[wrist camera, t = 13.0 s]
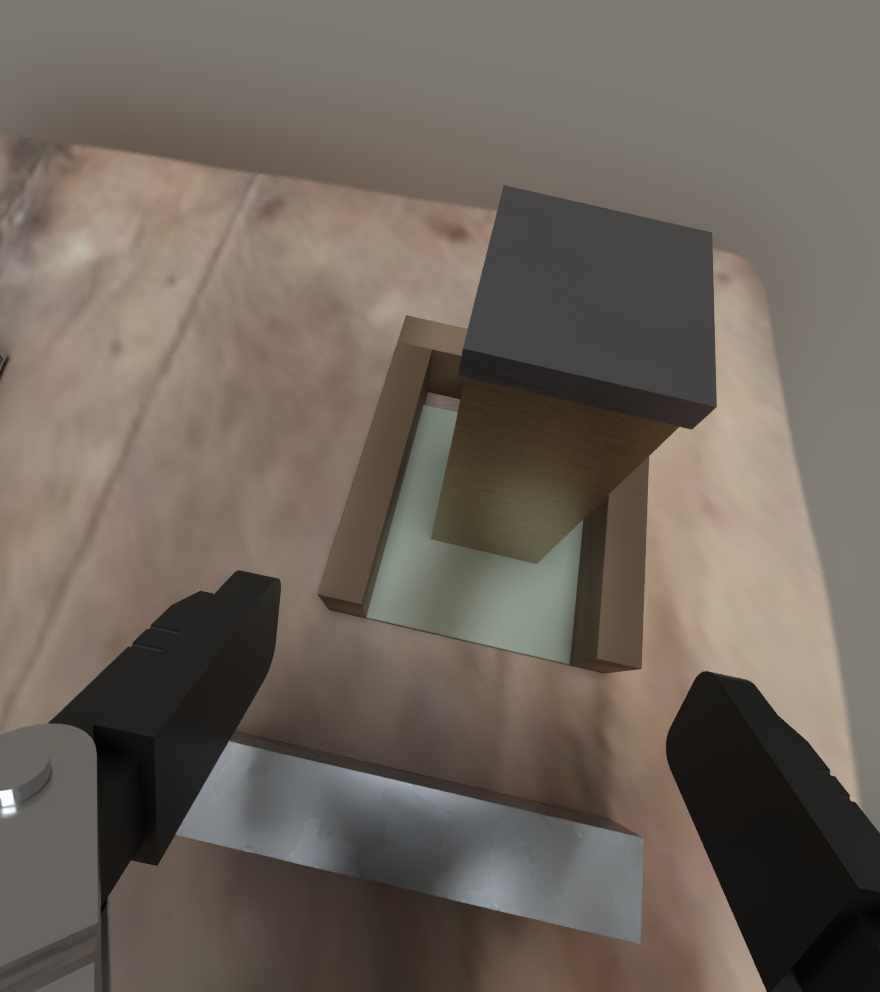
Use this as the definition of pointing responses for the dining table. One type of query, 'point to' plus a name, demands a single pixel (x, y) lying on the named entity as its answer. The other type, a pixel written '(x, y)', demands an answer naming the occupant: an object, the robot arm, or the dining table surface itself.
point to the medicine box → (2, 357)
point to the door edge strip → (422, 835)
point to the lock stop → (573, 368)
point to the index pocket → (472, 573)
